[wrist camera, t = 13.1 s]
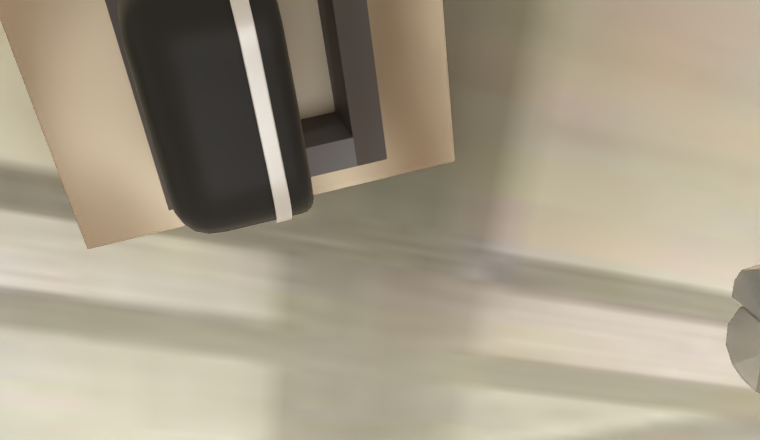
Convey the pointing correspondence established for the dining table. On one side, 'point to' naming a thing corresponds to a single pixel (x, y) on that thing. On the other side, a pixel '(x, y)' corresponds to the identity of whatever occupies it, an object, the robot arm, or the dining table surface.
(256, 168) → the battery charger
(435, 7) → the dock
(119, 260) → the dining table surface
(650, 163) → the dining table surface
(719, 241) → the dining table surface
